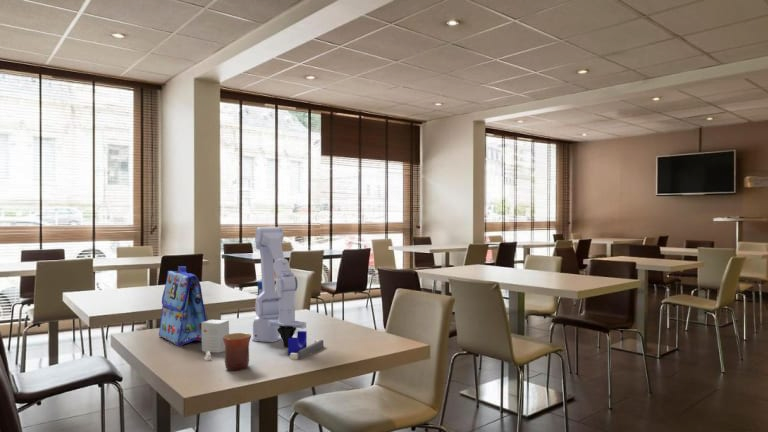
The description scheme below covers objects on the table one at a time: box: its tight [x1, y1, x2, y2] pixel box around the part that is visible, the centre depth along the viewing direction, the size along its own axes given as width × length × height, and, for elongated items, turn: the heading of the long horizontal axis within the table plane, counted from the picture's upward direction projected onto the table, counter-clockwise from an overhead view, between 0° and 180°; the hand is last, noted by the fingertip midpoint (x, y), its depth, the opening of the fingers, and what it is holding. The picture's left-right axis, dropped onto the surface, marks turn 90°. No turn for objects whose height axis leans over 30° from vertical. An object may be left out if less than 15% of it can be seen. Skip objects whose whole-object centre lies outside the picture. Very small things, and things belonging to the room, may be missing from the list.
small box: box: [201, 319, 230, 354], centre depth 187 cm, size 8×6×10 cm
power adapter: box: [203, 351, 212, 362], centre depth 175 cm, size 3×3×3 cm
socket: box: [289, 339, 325, 361], centre depth 184 cm, size 4×19×2 cm, turn 161°
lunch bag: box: [158, 265, 208, 347], centre depth 205 cm, size 22×14×29 cm, turn 41°
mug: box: [223, 332, 252, 372], centre depth 166 cm, size 12×9×10 cm
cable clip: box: [287, 330, 308, 356], centre depth 186 cm, size 12×4×6 cm, turn 172°
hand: (287, 347), depth 186 cm, fingers closed
